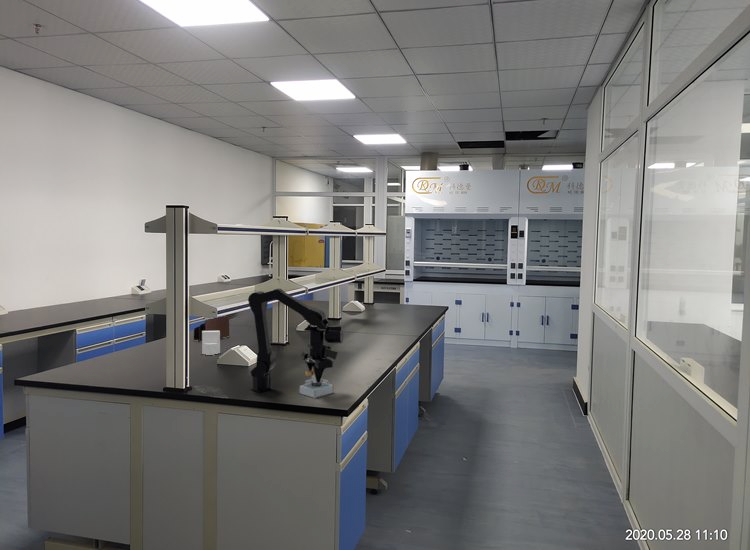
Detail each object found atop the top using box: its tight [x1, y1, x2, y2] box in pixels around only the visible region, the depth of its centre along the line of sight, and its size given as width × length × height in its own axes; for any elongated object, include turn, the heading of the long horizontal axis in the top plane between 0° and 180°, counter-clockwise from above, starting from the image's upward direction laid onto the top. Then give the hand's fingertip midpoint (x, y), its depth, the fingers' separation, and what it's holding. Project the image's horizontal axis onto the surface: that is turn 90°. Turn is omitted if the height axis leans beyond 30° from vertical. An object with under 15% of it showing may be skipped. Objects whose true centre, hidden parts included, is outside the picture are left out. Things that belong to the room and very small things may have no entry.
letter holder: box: [193, 315, 230, 341], centre depth 317 cm, size 10×20×14 cm, turn 153°
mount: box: [304, 376, 329, 385], centre depth 222 cm, size 7×7×2 cm
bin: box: [298, 382, 334, 399], centre depth 209 cm, size 10×9×3 cm
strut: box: [304, 368, 322, 387], centre depth 208 cm, size 4×6×7 cm, turn 119°
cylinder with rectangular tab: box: [201, 331, 221, 356], centre depth 277 cm, size 9×9×12 cm
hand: (316, 381), depth 209 cm, fingers closed on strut, 4 cm apart
